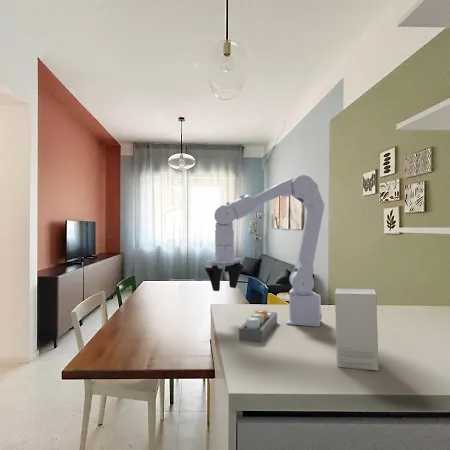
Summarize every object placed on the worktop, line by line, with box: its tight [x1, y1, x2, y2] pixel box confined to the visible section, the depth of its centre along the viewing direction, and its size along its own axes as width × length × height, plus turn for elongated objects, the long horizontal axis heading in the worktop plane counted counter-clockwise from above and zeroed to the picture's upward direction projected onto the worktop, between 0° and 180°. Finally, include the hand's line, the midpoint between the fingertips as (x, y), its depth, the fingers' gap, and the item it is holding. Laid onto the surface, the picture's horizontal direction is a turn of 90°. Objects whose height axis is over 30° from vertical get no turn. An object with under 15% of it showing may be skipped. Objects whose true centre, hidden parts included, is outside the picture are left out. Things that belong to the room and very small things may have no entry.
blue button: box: [245, 317, 260, 330], centre depth 93 cm, size 4×4×3 cm
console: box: [238, 311, 278, 343], centre depth 100 cm, size 6×20×3 cm, turn 161°
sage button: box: [250, 312, 264, 325], centre depth 97 cm, size 4×4×3 cm
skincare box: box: [334, 287, 380, 372], centre depth 75 cm, size 8×7×16 cm
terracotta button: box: [254, 309, 269, 321], centre depth 102 cm, size 4×4×3 cm
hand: (224, 289), depth 110 cm, fingers open, 7 cm apart
